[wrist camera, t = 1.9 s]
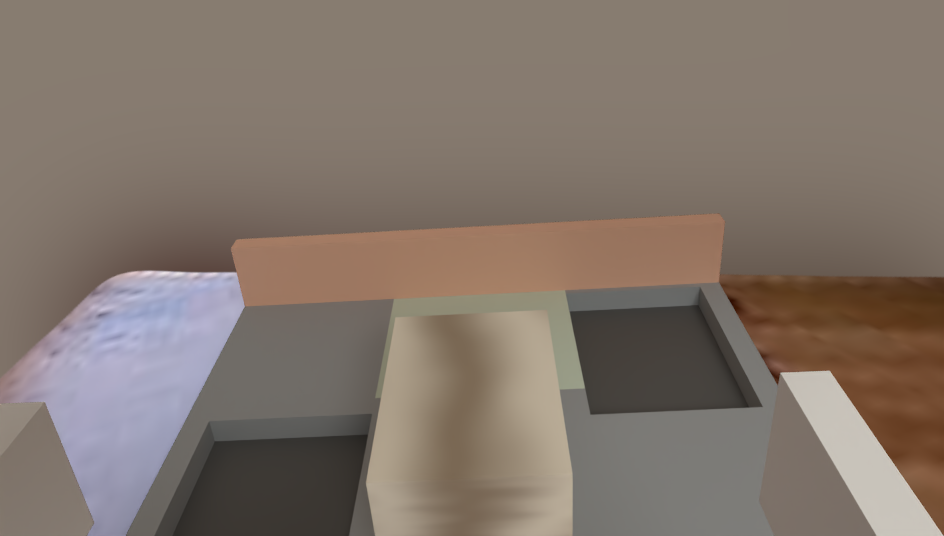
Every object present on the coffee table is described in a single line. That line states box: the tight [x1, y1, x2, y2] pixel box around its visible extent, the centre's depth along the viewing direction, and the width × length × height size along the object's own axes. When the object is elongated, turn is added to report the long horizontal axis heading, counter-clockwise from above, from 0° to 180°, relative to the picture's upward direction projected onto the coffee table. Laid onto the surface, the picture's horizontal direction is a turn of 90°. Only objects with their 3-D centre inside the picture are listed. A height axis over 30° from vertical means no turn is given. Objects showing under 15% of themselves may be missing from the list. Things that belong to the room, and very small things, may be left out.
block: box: [366, 310, 573, 536], centre depth 36 cm, size 8×12×8 cm, turn 0°
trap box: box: [126, 213, 778, 536], centre depth 44 cm, size 36×30×7 cm
